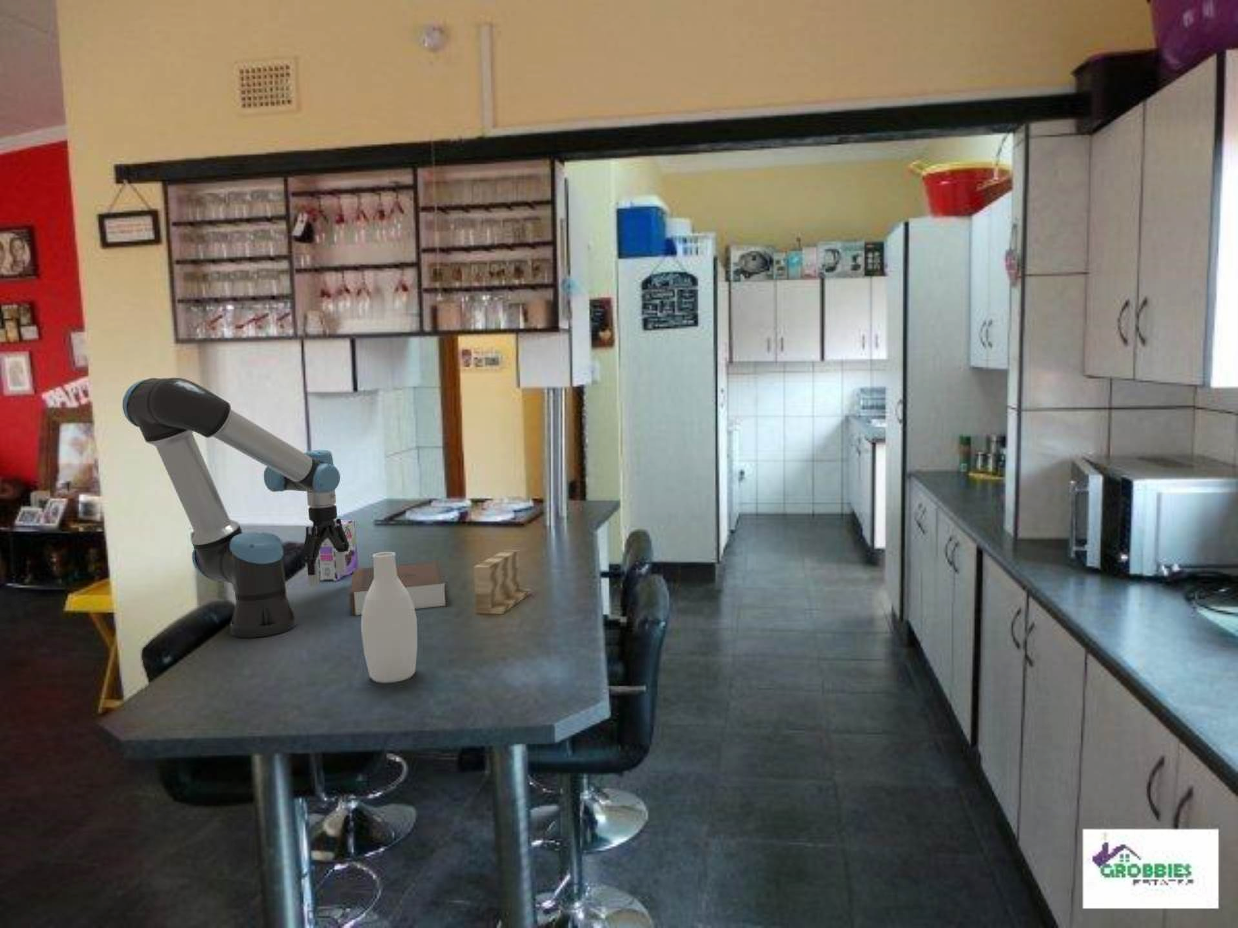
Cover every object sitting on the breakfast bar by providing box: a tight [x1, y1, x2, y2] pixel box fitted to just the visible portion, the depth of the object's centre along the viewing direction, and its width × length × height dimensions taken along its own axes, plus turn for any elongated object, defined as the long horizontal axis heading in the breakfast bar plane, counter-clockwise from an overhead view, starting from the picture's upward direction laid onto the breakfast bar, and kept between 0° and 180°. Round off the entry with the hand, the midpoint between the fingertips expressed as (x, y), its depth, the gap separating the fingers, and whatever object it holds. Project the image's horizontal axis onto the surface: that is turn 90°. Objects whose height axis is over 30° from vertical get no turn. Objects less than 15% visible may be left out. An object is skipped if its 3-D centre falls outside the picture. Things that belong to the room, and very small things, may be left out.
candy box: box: [317, 519, 359, 582], centre depth 274 cm, size 14×6×16 cm, turn 168°
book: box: [349, 560, 447, 616], centre depth 246 cm, size 24×28×6 cm
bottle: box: [360, 551, 418, 684], centre depth 182 cm, size 11×11×25 cm
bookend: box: [473, 549, 532, 615], centre depth 235 cm, size 20×7×12 cm, turn 164°
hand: (328, 580), depth 252 cm, fingers open, 13 cm apart
